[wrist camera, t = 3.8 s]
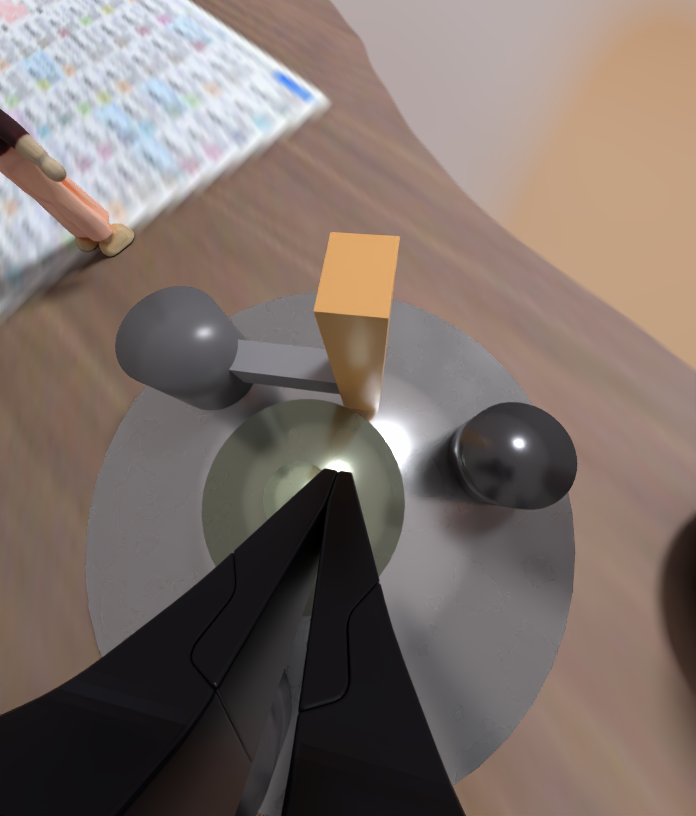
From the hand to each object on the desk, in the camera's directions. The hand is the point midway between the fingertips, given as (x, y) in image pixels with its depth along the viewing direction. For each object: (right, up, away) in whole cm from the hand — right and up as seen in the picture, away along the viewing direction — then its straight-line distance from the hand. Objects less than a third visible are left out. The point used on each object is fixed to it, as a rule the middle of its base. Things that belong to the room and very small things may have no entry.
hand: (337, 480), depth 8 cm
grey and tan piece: (-4, +4, +7) cm, 9 cm away
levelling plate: (-1, -2, +7) cm, 7 cm away
